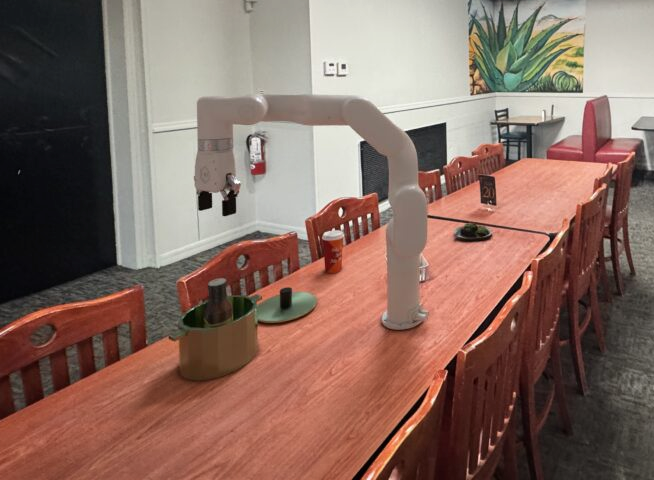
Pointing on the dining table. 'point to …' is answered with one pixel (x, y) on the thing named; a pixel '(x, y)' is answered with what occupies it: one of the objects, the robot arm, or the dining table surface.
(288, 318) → the tin lid
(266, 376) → the dining table surface
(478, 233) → the salad plate
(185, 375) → the cooking pot
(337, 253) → the paper cup
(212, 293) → the sauce bottle
